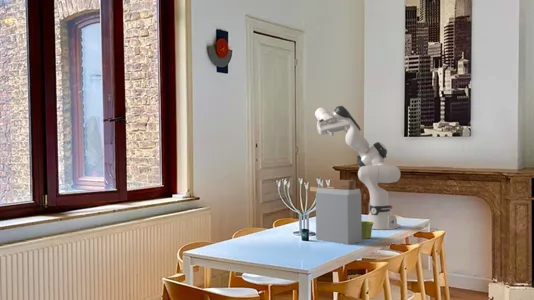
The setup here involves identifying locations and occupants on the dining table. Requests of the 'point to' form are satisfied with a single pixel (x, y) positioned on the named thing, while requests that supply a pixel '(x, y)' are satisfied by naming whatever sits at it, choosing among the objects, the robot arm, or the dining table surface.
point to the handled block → (340, 185)
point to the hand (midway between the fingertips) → (339, 133)
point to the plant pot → (366, 229)
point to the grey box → (338, 215)
